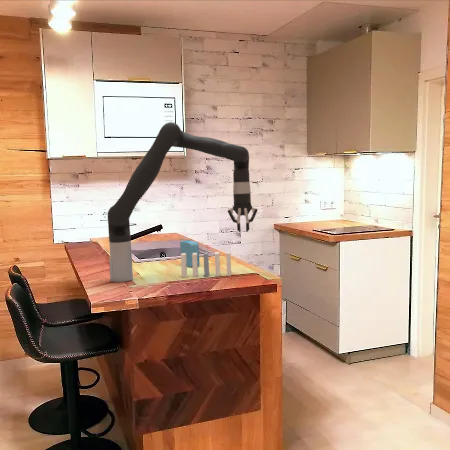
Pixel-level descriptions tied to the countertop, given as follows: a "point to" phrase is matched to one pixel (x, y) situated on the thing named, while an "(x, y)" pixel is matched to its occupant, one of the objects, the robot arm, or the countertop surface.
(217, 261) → the domino
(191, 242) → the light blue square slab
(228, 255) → the domino
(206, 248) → the countertop surface
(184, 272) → the domino
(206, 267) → the domino
